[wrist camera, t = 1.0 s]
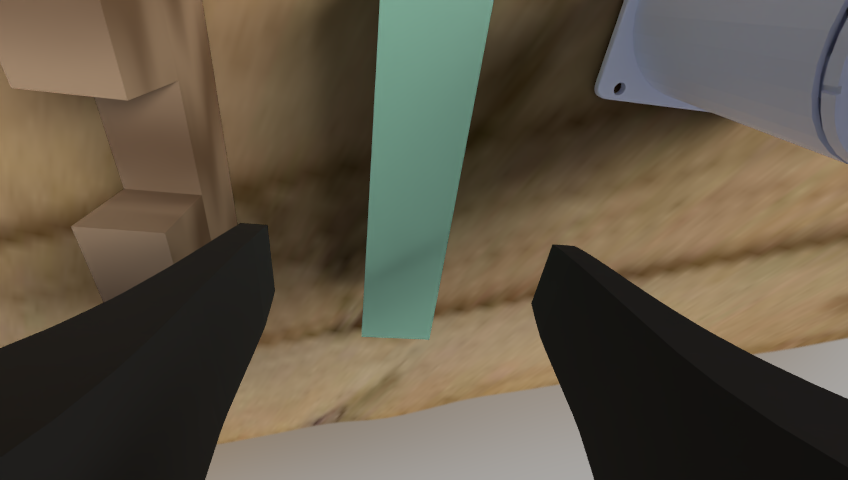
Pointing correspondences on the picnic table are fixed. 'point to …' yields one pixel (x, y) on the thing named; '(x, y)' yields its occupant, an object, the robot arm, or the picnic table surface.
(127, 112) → the walnut notched bar
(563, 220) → the picnic table surface
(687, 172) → the picnic table surface
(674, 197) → the picnic table surface
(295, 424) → the picnic table surface
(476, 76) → the green notched bar
